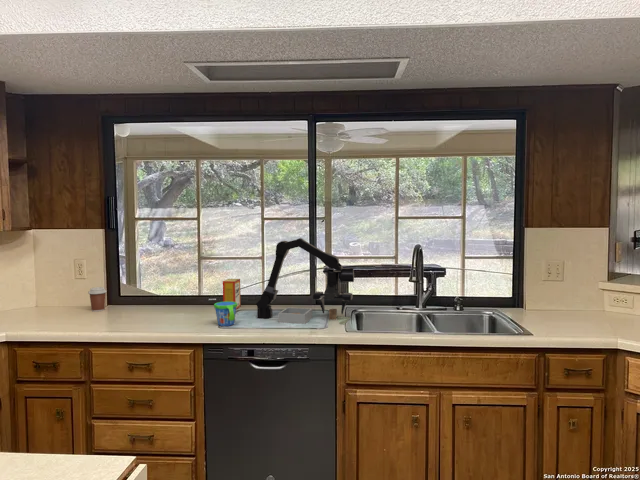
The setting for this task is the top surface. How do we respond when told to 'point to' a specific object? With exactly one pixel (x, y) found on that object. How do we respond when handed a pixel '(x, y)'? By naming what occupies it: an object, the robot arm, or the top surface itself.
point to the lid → (334, 315)
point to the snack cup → (225, 312)
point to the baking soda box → (232, 291)
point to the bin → (295, 315)
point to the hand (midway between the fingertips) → (332, 313)
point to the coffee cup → (97, 298)
